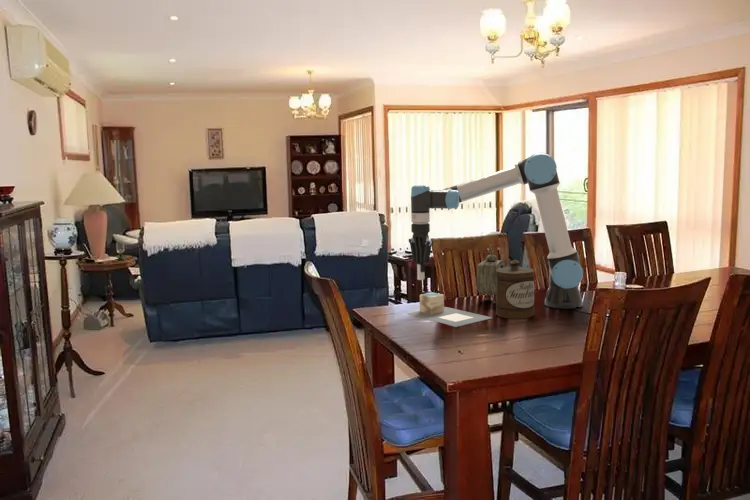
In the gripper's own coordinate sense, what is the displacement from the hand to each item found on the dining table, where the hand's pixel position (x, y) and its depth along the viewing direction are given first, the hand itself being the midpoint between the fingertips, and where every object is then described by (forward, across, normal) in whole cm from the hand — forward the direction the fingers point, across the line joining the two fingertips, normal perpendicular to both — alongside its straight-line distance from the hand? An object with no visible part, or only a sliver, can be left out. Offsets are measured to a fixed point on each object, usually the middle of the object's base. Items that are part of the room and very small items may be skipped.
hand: (420, 279), depth 272 cm
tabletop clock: (+13, +8, +33) cm, 37 cm away
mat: (+13, +16, 0) cm, 21 cm away
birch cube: (+13, +6, 0) cm, 14 cm away
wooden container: (+13, +32, +21) cm, 41 cm away
